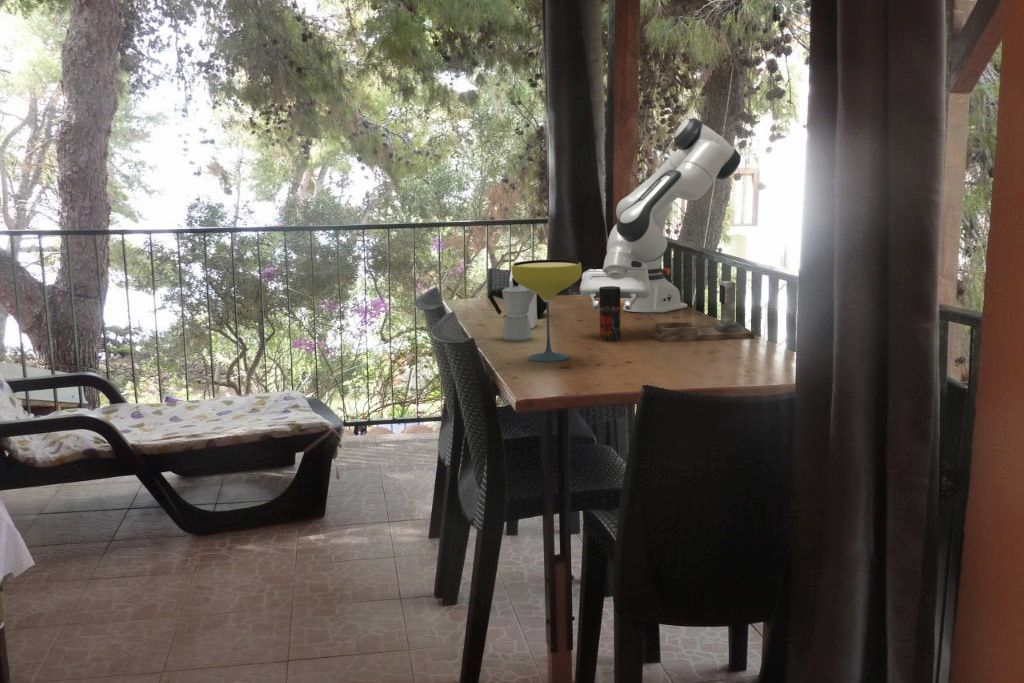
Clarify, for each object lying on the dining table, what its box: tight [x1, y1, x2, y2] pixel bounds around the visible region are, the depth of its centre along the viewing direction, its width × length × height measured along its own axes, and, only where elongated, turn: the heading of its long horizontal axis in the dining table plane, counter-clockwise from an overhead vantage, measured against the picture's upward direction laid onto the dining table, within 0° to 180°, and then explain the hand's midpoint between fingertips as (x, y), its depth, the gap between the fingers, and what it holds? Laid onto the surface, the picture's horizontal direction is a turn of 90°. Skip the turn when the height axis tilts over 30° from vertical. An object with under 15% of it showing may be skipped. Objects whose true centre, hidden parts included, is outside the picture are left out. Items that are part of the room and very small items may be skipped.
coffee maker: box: [488, 278, 535, 342], centre depth 281 cm, size 15×9×18 cm, turn 71°
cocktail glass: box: [512, 259, 583, 363], centre depth 253 cm, size 18×18×25 cm
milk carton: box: [508, 266, 538, 329], centre depth 300 cm, size 7×7×19 cm
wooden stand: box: [651, 280, 755, 343], centre depth 276 cm, size 27×11×16 cm, turn 92°
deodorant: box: [598, 286, 622, 343], centre depth 276 cm, size 6×6×15 cm
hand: (611, 308), depth 275 cm, fingers open, 8 cm apart
